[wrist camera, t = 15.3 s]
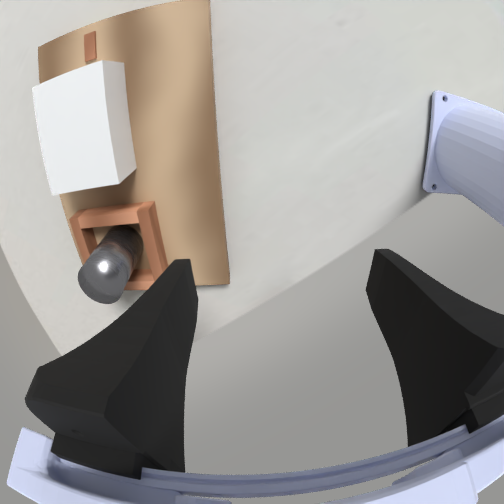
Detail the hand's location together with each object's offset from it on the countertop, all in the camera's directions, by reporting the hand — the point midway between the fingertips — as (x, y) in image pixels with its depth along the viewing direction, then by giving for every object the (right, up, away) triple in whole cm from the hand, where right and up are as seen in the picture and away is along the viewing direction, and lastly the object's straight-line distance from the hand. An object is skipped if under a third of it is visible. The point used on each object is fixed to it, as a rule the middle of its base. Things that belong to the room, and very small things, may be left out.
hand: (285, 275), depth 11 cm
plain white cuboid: (-11, +9, +4) cm, 15 cm away
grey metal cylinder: (-11, +2, +9) cm, 14 cm away
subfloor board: (-9, +7, +6) cm, 13 cm away
